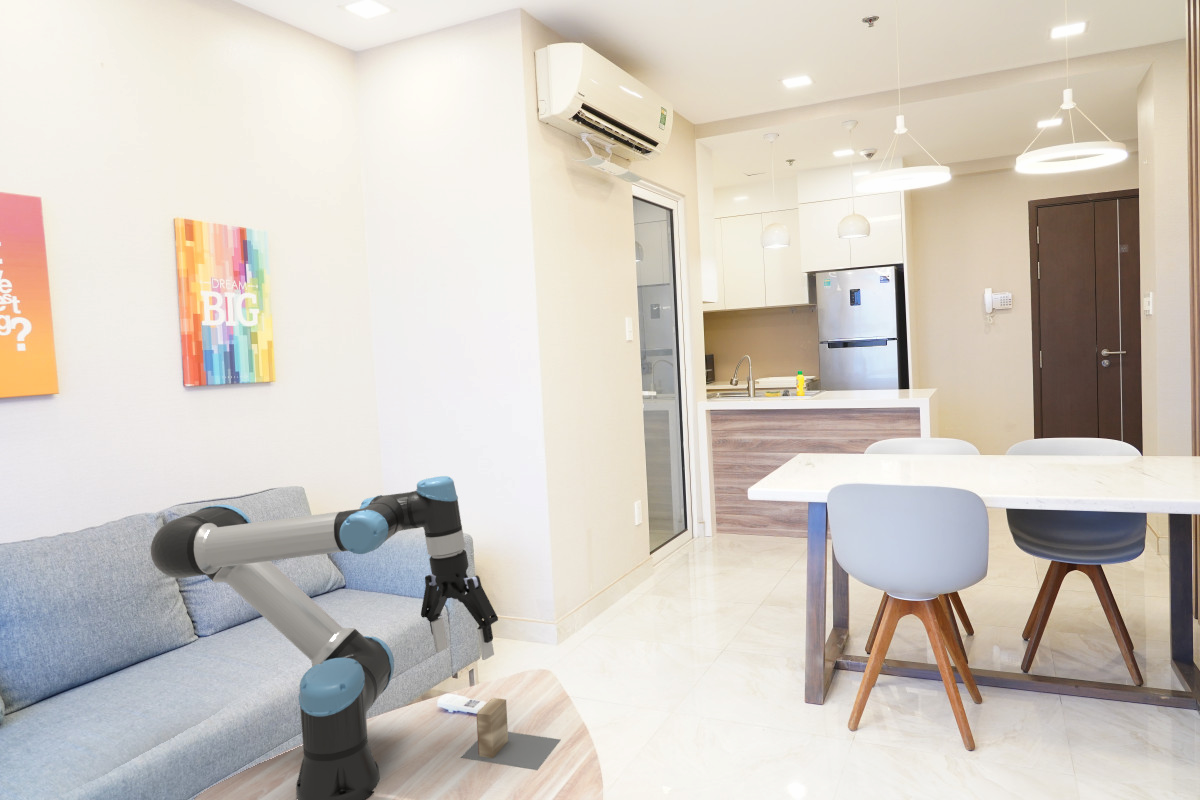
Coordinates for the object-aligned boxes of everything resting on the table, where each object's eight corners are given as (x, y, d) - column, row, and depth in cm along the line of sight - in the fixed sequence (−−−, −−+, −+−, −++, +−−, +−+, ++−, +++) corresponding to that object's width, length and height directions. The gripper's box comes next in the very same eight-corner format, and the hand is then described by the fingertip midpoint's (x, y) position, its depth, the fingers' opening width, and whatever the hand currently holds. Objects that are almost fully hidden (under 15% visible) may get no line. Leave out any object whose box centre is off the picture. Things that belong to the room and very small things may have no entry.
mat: (460, 760, 156) (460, 757, 156) (488, 731, 168) (488, 728, 168) (537, 772, 151) (537, 770, 151) (560, 742, 162) (560, 739, 162)
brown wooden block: (478, 755, 157) (475, 713, 156) (494, 738, 163) (492, 697, 163) (492, 758, 156) (490, 715, 155) (508, 741, 162) (506, 699, 162)
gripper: (504, 549, 153) (521, 652, 154) (420, 545, 168) (437, 640, 169) (477, 560, 147) (495, 668, 148) (393, 556, 162) (410, 654, 163)
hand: (464, 653), depth 159 cm, fingers open, 13 cm apart
